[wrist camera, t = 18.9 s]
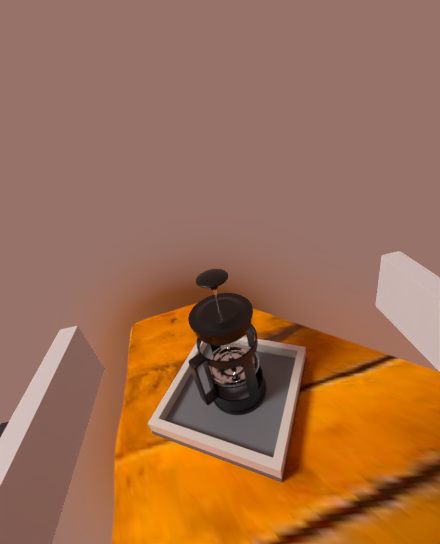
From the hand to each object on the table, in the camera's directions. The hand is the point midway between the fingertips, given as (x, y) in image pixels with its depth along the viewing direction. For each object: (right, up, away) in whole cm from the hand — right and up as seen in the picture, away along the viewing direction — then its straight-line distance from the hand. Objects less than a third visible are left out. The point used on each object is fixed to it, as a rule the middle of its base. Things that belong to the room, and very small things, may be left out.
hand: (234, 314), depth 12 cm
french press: (+2, -18, +35) cm, 39 cm away
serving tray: (+2, -19, +35) cm, 40 cm away
